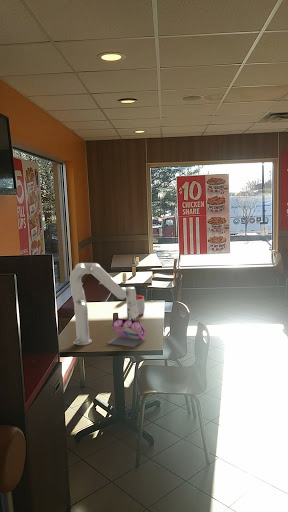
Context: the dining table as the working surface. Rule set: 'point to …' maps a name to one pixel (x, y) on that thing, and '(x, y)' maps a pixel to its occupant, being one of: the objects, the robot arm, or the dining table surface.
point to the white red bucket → (140, 304)
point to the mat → (125, 341)
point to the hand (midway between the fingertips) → (133, 326)
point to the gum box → (129, 328)
